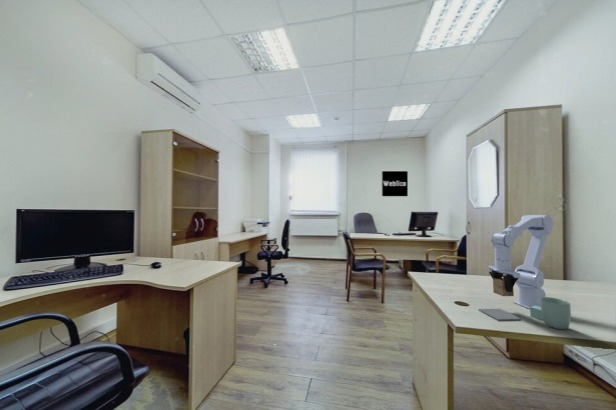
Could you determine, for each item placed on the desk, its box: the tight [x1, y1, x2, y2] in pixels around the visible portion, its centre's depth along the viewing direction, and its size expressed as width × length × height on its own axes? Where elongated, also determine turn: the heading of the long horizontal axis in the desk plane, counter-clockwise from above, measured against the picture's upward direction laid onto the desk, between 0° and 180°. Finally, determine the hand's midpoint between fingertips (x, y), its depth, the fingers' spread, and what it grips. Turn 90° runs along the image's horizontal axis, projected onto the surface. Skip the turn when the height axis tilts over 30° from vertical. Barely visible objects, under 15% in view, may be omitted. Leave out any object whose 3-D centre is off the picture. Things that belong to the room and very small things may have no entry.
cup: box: [541, 296, 572, 330], centre depth 89 cm, size 8×8×10 cm
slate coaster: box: [478, 308, 522, 322], centre depth 100 cm, size 10×10×1 cm
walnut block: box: [492, 277, 515, 297], centre depth 105 cm, size 5×5×6 cm
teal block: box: [529, 306, 543, 321], centre depth 97 cm, size 4×4×4 cm
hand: (503, 289), depth 105 cm, fingers closed on walnut block, 5 cm apart
